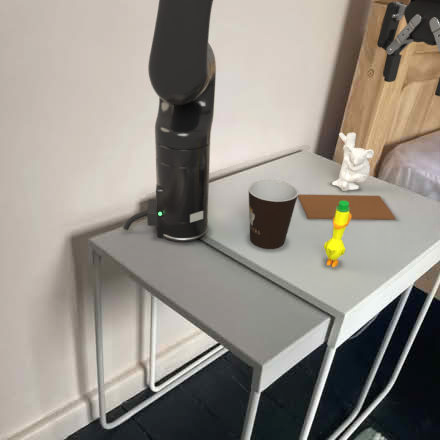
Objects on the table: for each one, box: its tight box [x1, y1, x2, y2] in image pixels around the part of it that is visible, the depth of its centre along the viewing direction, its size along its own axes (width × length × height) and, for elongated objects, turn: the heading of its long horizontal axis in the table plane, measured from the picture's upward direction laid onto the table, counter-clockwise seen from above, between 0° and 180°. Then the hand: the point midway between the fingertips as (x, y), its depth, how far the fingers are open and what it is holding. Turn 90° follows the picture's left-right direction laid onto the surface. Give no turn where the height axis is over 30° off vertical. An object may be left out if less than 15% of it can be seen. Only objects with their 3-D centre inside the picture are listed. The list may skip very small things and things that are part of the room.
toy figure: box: [323, 201, 352, 268], centre depth 83 cm, size 7×4×12 cm, turn 152°
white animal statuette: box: [331, 131, 375, 192], centre depth 109 cm, size 8×7×12 cm
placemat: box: [297, 194, 396, 221], centre depth 104 cm, size 18×10×1 cm, turn 94°
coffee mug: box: [248, 179, 299, 250], centre depth 90 cm, size 12×9×10 cm
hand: (414, 88), depth 74 cm, fingers open, 8 cm apart
